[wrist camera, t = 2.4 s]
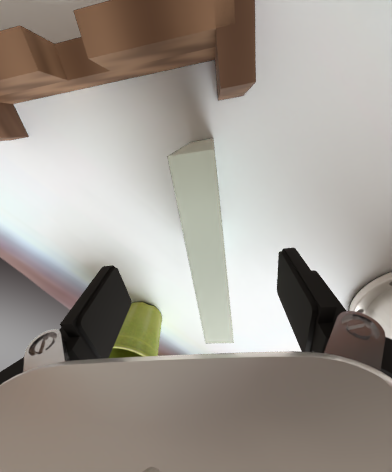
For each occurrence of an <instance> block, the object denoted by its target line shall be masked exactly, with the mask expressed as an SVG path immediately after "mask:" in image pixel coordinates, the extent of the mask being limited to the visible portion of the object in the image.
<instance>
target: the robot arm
mask: <svg viewBox="0 0 392 472" xmlns="http://www.w3.org/2000/svg"><path fill="white" fill-rule="evenodd" d="M277 293H278V296H279V298H280V301H281V303H282V305H283V308H284V310H285V312H286V315H287V317H288V320H289V322H290V324H291V327H292V329H293V331H294V334H295V336H296V339H297V341H298V343H299V346H300V348H301V350H302V352H294V351H289V352H246V353H219V354H193V355H169V356H146V357H125V358H109V356H110V354H111V351H112V349H113V347H114V344H115V342H116V339H117V337H118V335H119V332H120V330H121V328H122V325H123V323H124V321H125V318H126V316H127V313H128V311H129V309H130V306H131V299H130V296H129V294H128V292H127V289H126V287H125V285H124V282H123V280H122V278H121V275H120V273H119V271H118V269H117V268H115V267H114V266H104V267H102V268H101V270H100V271H99V272H98V274H97V275H96V276H95V278H94V279H93V280H92V282H91V283H90V284H89V286H88V287H87V288H86V290H85V291H84V293H83V294H82V295H81V297H80V298H79V299H78V301H77V302H76V303H75V305H74V306H73V307H72V309H71V310H70V312H69V313H68V314H67V316H66V317H65V318H64V320H63V321H62V322H61V324H60V325H61V329H60V330H57V329H52V330H48V331H46V332H43V333H42V334H40V335H39V336H37V337H36V338H35V339H33V340H32V341H31V343H30V344H29V345H28V347H27V348H26V350H25V353H24V357H23V358H22V359H20V360H19V361H17V362H16V363H14V364H12V365H11V366H9V367H7V368H6V369H4V370H3V371H1V372H0V472H392V272H390V273H387V274H385V275H383V276H381V277H378V278H377V279H375V280H373V281H372V282H370V283H368V284H367V285H366V286H365V287H363V288H362V289H361V290H360V291H359V292H358V293H357V294H356V296H355V297H354V299H353V300H352V302H351V305H350V308H349V311H346V310H345V308H344V307H343V306H342V304H341V303H340V302H339V300H338V299H337V298H336V296H335V295H334V294H333V292H332V291H331V290H330V288H329V287H328V286H327V284H326V283H325V282H324V280H323V279H322V278H321V277H320V275H319V274H318V273H317V272H316V271H311V270H310V268H309V267H308V266H307V264H306V263H305V261H304V260H303V259H302V257H301V256H300V254H299V253H298V252H297V250H296V249H295V248H285V249H283V250H282V252H279V260H278V279H277Z"/></svg>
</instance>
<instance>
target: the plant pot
mask: <svg viewBox="0 0 392 472" xmlns="http://www.w3.org/2000/svg"><path fill="white" fill-rule="evenodd" d="M161 322H162V316H161V313H160V311H159V310H158V309H157V308H156V307H154V306H150V305H147V304H146V303H144V302H135V303H132V304H131V306H130V309H129V311H128V313H127V316H126V318H125V321H124V323H123V325H122V328H121V330H120V332H119V335H118V337H117V339H116V342H115V344H114V347H113V349H112V351H111V354H110V356H109V358H125V357H146V356H158V347H159V338H160V330H161Z"/></svg>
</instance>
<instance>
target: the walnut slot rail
mask: <svg viewBox="0 0 392 472" xmlns="http://www.w3.org/2000/svg"><path fill="white" fill-rule="evenodd" d="M74 14H75V17H76V20H77V24H78V27H79V30H80V33H81V37H79V38H75V39H72V40H68V41H64V42H60V43H56V44H54V43H52V42H50V41H48V40H46V39H44V38H42V37H41V36H39V35H37V34H35V33H33V32H31V31H29V30H28V29H26V28H24V27H22V26H16V27H13V28H9V29H6V30H2V31H0V141H5V140H14V139H19V138H25V137H29V136H28V134H27V132H26V130H25V128H24V126H23V124H22V122H21V120H20V118H19V116H18V114H17V111H16V109H15V107H14V105H13V104H15V103H20V102H24V101H29V100H33V99H38V98H43V97H47V96H52V95H56V94H61V93H65V92H70V91H75V90H79V89H84V88H88V87H93V86H97V85H102V84H106V83H111V82H116V81H120V80H125V79H129V78H134V77H138V76H143V75H148V74H152V73H157V72H161V71H166V70H170V69H175V68H180V67H184V66H189V65H193V64H198V63H202V62H207V61H211V60H215V66H216V78H217V90H218V101H219V100H224V99H229V98H234V97H240V96H243V95H244V94H245V93H246V92H247V91H248V90H249V89H250V88H251V87H252V85H253V84H254V83H255V82H256V67H255V0H109V1H106V2H102V3H99V4H95V5H92V6H88V7H84V8H81V9H77V10H74Z"/></svg>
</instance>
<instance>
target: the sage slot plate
mask: <svg viewBox="0 0 392 472" xmlns="http://www.w3.org/2000/svg"><path fill="white" fill-rule="evenodd" d="M167 157H168V162H169V167H170V172H171V177H172V182H173V187H174V192H175V196H176V201H177V206H178V211H179V216H180V221H181V226H182V231H183V236H184V240H185V245H186V250H187V255H188V260H189V265H190V270H191V275H192V279H193V284H194V289H195V294H196V299H197V304H198V309H199V314H200V319H201V323H202V328H203V333H204V338H205V343H206V344H207V343H234V341H233V331H232V320H231V310H230V300H229V290H228V280H227V269H226V259H225V249H224V239H223V229H222V220H221V210H220V200H219V190H218V180H217V170H216V160H215V150H214V140H213V138H212V139H206V140H200V141H194V142H190V143H189V144H187V145H185V146H184V147H182V148H180V149H179V150H177V151H176V152H174V153H172V154H171V155H169V156H167Z"/></svg>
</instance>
